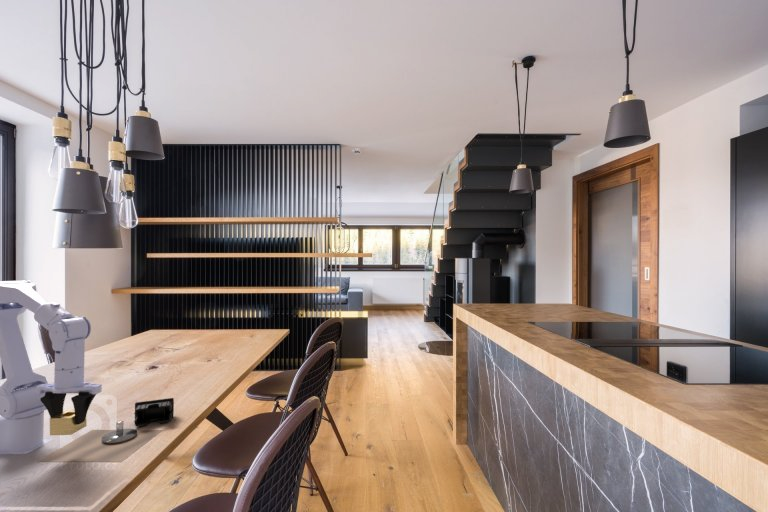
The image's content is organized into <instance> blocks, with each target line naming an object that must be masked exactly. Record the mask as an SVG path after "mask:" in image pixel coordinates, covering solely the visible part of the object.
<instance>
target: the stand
mask: <svg viewBox="0 0 768 512" xmlns="http://www.w3.org/2000/svg"><path fill="white" fill-rule="evenodd" d="M115 423H116V424H115V425H116V426H115V428H116V429H114V430H115V431H112V432H109V433H107V434H105V435H104V436H103V437H102V441H101V442H102V443H103V444H119V443H123V442H126V441H129V440H131V439H133V438H135V437H136V436H137V430H138V429H135V428H124V420H119V421H118V420H117V421H116V422H115Z"/></svg>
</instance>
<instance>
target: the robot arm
mask: <svg viewBox="0 0 768 512" xmlns="http://www.w3.org/2000/svg"><path fill="white" fill-rule="evenodd" d="M26 310H28V311H30V312H31V313H33V314H34V315H33V318H34V320H35V321H36V322H37V323H38V324H39V325H41V326H42V327H43V328H45V330H47V331H48V336H49V339H50V342H51V348H52V350H53V351H54V375H53V376H54V378H53V379H54V382H53V383H49V382H48V380H47V377H46V376H44V375H42V374H39V373H36V372H34V371H33V368H32V364H31V362H30V358H29V355H28V351H27V348H26V345H25V341H24V338H23V333H22V331H21V328H20V325H19V322H18V319H17V318H18V316H20V315H21V314H23V313H25V312H26ZM91 331H92V326H91V323H90V320H89V319H87V317H86V316H84V315H81V316H77V315H74V314H72V313H71V312H69V311H67V310H66V309H65V308H64V307H62V306H61V304H60V303H59V302H48V301H47V300H45V299H44V298H43V297H42V295H40V294H39V293H38V292H37V285H36V284H35V283H34V282H33V281H31V279H30V280H29V279H23V280H3V281H2V280H1V281H0V362H1V364H2V369H3V371H4V374H5V379H6V380H5V381H4V382H3V384H1V385H0V454H1V455H13V454H14V455H15V454H16V455H18V454H19V455H25V454H29V453H31V452H33V451H35V450H36V449H38V448H39V447H40V448H41V447H42V446H44V445H45V444H48V443H49V442H52V441H53V438H52V439H51V438H47V439H46V438H44V430H45V429H44V428H45V427H44V426H45V425H44V424H45V421H44V420H45V411H46V410H47V411H48V415H49V419H50V418H52V417H54V416H56V415H58V414H60V413H63V412H64V403H65V400H66V396H67V394H77V395H74V396H72V397H71V398H70V400H71V402H72V403H73V409H74V410H73V411H75V423H76V425H78V424H81V423H82V422H84V421H85V418H86V419H87V415H88V410H89V408H90V406H91V403H92V402H93V400H94V398H95V397H96V395H97V394H100V393H102V391H103V390H102V389H103V388H102V383H92V382H87V381H85V348H86V347H85V346H86V345H85V343H86V342H85V341H86V340H87V339H88V337H90V334H91Z"/></svg>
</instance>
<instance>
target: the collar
mask: <svg viewBox="0 0 768 512" xmlns="http://www.w3.org/2000/svg"><path fill="white" fill-rule="evenodd" d="M87 426H88V425H87V417H86V418H85V421H84V422H82V423H81V424H78V425H76V423H75V410H65V411H63V413H60V414H58V415H56V416H54V417H52V418H50V417H49V436H71V435H73V434H75V433H77V432H79V431H80V430H82V429H84V428H86V427H87Z"/></svg>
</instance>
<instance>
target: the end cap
mask: <svg viewBox="0 0 768 512" xmlns="http://www.w3.org/2000/svg"><path fill="white" fill-rule="evenodd" d="M174 405H175V398H174V397H169V398H162V399H161V398H160V399H152V400H145V401H136V402H135V403H134V413H133V415H134V420H133V423H134V426H135V427H142V426H144V427H145V426H147V425H148V423H150V422H157V421H158V423H159V424H163V423H169V422H170V421H171V420H172V419H173V418H174V410H175V408H174V407H175V406H174Z"/></svg>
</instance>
